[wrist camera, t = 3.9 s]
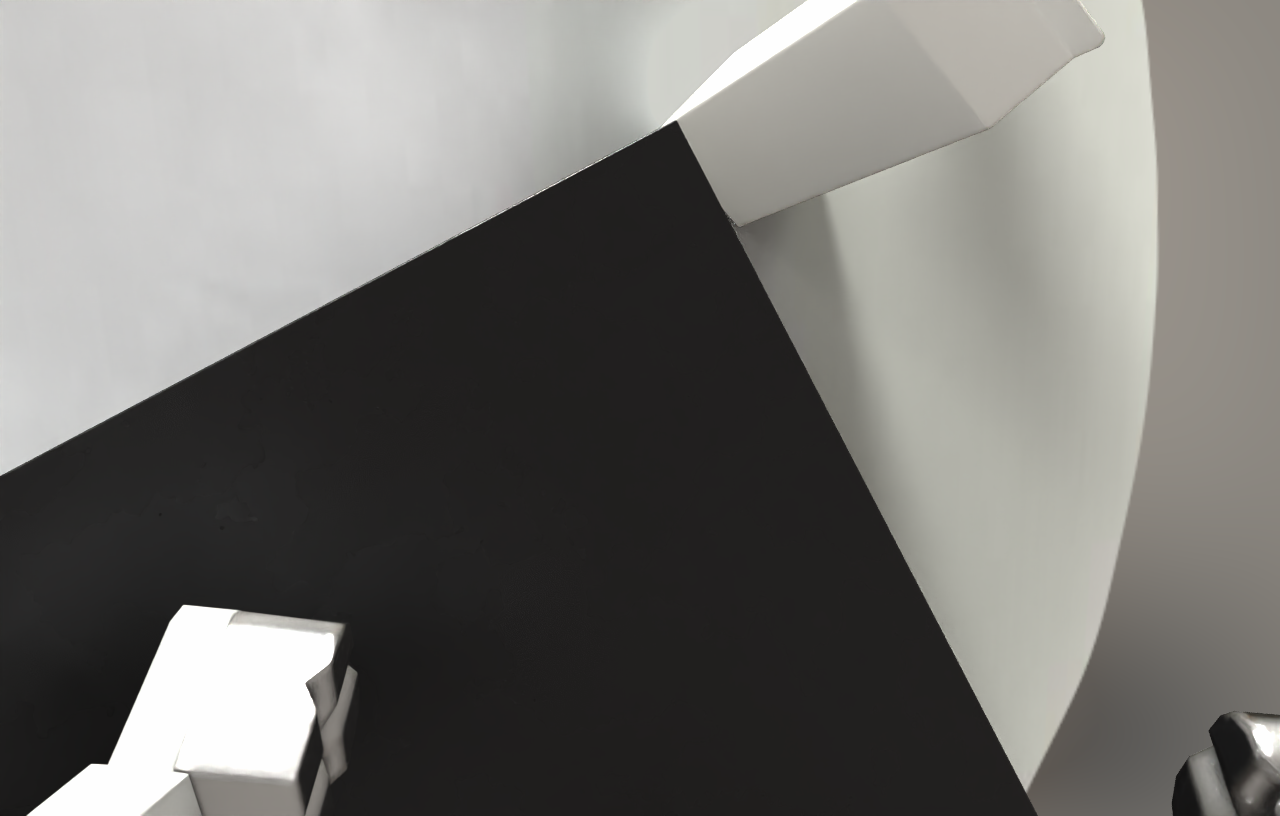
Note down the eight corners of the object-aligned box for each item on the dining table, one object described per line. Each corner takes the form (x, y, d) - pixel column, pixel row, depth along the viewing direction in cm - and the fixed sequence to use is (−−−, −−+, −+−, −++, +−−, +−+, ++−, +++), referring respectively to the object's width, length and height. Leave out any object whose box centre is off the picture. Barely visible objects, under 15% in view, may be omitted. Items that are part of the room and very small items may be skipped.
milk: (737, 228, 57) (1054, 110, 36) (651, 131, 55) (931, -49, 35) (816, 144, 58) (1162, -15, 38) (734, 48, 57) (1049, -172, 36)
